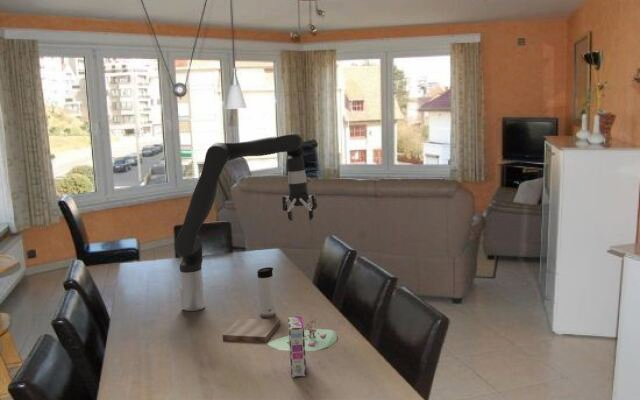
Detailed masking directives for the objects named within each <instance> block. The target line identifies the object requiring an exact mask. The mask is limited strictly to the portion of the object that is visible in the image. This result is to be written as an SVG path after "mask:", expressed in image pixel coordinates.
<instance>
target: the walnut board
mask: <svg viewBox="0 0 640 400" xmlns="http://www.w3.org/2000/svg"><path fill="white" fill-rule="evenodd" d="M280 325H281V320H280V319H264V318H261V319H260V318H239V319H237V320H236V321H235V322H234V323H233V324H232V325H231V326H230V327H229V328H228V329H227V330H226V331H225V332H224V333H223V334H222V341H238V342H253V343H257V342H258V343H267V342H268V340H269V339H270V338H271V337H272V335H273V334H274V333H275V332H276V330H277V329H279V327H280Z"/></svg>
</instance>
